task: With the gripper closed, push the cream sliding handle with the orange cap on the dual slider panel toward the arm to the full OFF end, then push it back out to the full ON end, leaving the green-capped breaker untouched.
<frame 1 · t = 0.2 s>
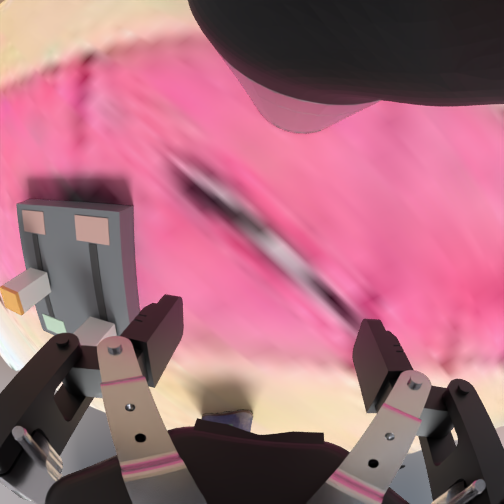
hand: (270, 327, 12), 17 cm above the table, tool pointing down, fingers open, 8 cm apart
tripped breaker: (25, 289, 27), point 7 cm above the table, slide at 5.0 cm
flask: (227, 415, 40), on the table
dual slider panel: (80, 276, 33), on the table
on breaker: (91, 343, 28), point 7 cm above the table, slide at 10.0 cm
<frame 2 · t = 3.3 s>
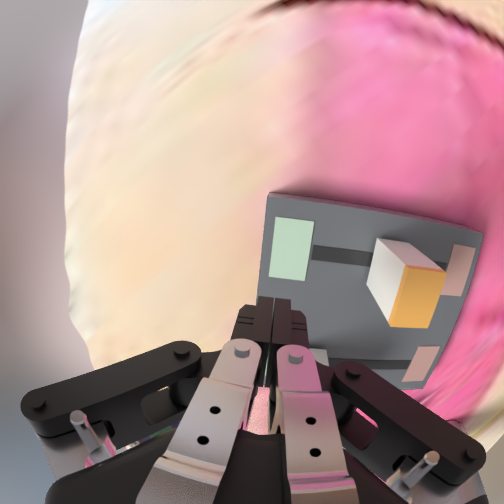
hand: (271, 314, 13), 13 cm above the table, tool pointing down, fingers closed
tripped breaker: (401, 279, 18), point 7 cm above the table, slide at 5.0 cm
dual slider panel: (363, 302, 26), on the table
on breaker: (307, 387, 22), point 7 cm above the table, slide at 10.0 cm
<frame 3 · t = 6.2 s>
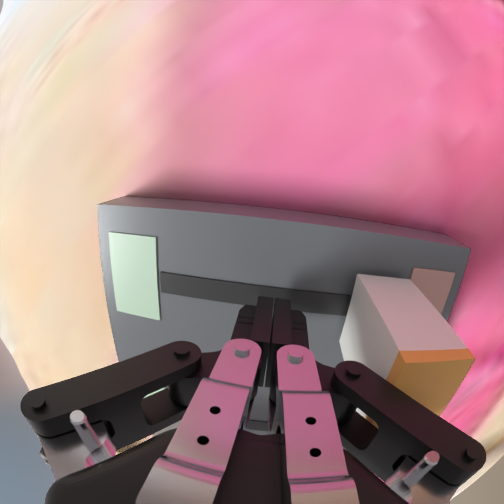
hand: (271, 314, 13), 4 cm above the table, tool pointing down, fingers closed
tripped breaker: (393, 350, 10), point 7 cm above the table, slide at 0.1 cm, touching hand
dual slider panel: (271, 347, 19), on the table
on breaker: (179, 452, 15), point 7 cm above the table, slide at 10.0 cm
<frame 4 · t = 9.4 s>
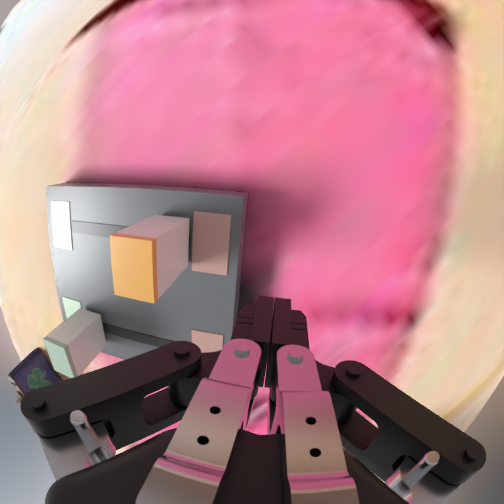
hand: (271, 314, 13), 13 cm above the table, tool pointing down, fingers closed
tripped breaker: (153, 253, 19), point 7 cm above the table, slide at 0.0 cm
flask: (51, 367, 37), on the table
dual slider panel: (140, 276, 28), on the table
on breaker: (76, 342, 23), point 7 cm above the table, slide at 10.0 cm
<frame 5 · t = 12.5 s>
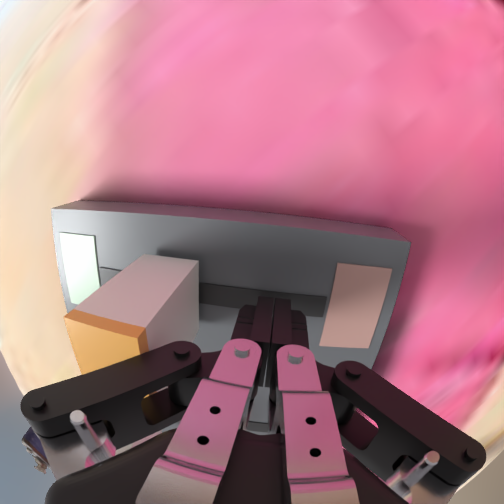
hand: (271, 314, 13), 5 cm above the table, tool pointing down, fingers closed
tripped breaker: (145, 325, 11), point 7 cm above the table, slide at 6.5 cm, touching hand
flask: (71, 421, 28), on the table
dual slider panel: (213, 341, 19), on the table
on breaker: (126, 437, 15), point 7 cm above the table, slide at 10.0 cm
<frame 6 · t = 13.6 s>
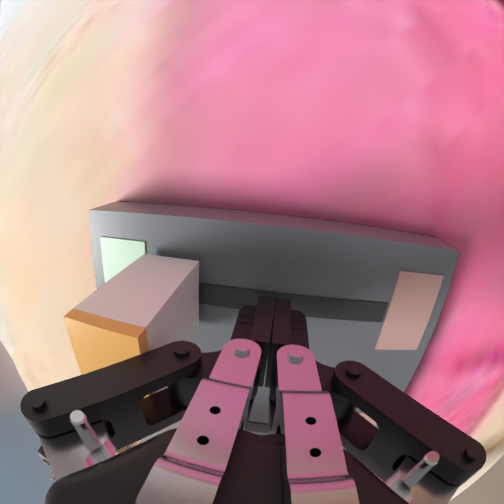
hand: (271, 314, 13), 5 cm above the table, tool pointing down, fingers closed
tripped breaker: (145, 325, 11), point 7 cm above the table, slide at 10.0 cm, touching hand
dual slider panel: (261, 349, 19), on the table
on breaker: (171, 452, 15), point 7 cm above the table, slide at 10.0 cm
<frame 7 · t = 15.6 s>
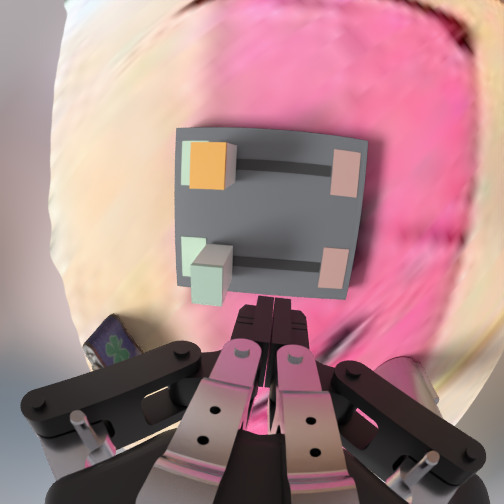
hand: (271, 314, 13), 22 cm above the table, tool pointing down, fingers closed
tripped breaker: (215, 164, 25), point 7 cm above the table, slide at 10.0 cm
flask: (125, 335, 42), on the table
dual slider panel: (267, 211, 33), on the table
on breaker: (213, 272, 29), point 7 cm above the table, slide at 10.0 cm
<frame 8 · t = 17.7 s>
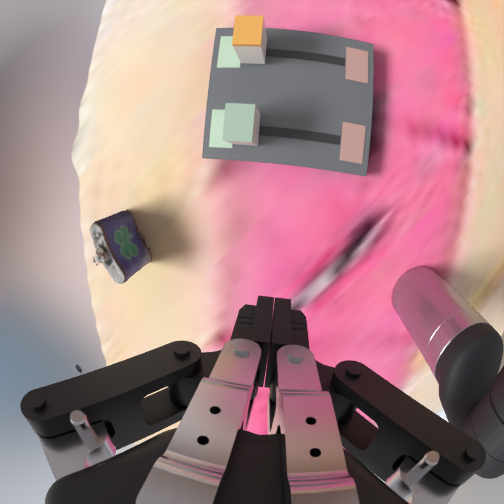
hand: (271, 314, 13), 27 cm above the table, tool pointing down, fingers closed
tripped breaker: (251, 40, 25), point 7 cm above the table, slide at 10.0 cm
flask: (136, 236, 42), on the table
dual slider panel: (290, 97, 33), on the table
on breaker: (243, 126, 29), point 7 cm above the table, slide at 10.0 cm
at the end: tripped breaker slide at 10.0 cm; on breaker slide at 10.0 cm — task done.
